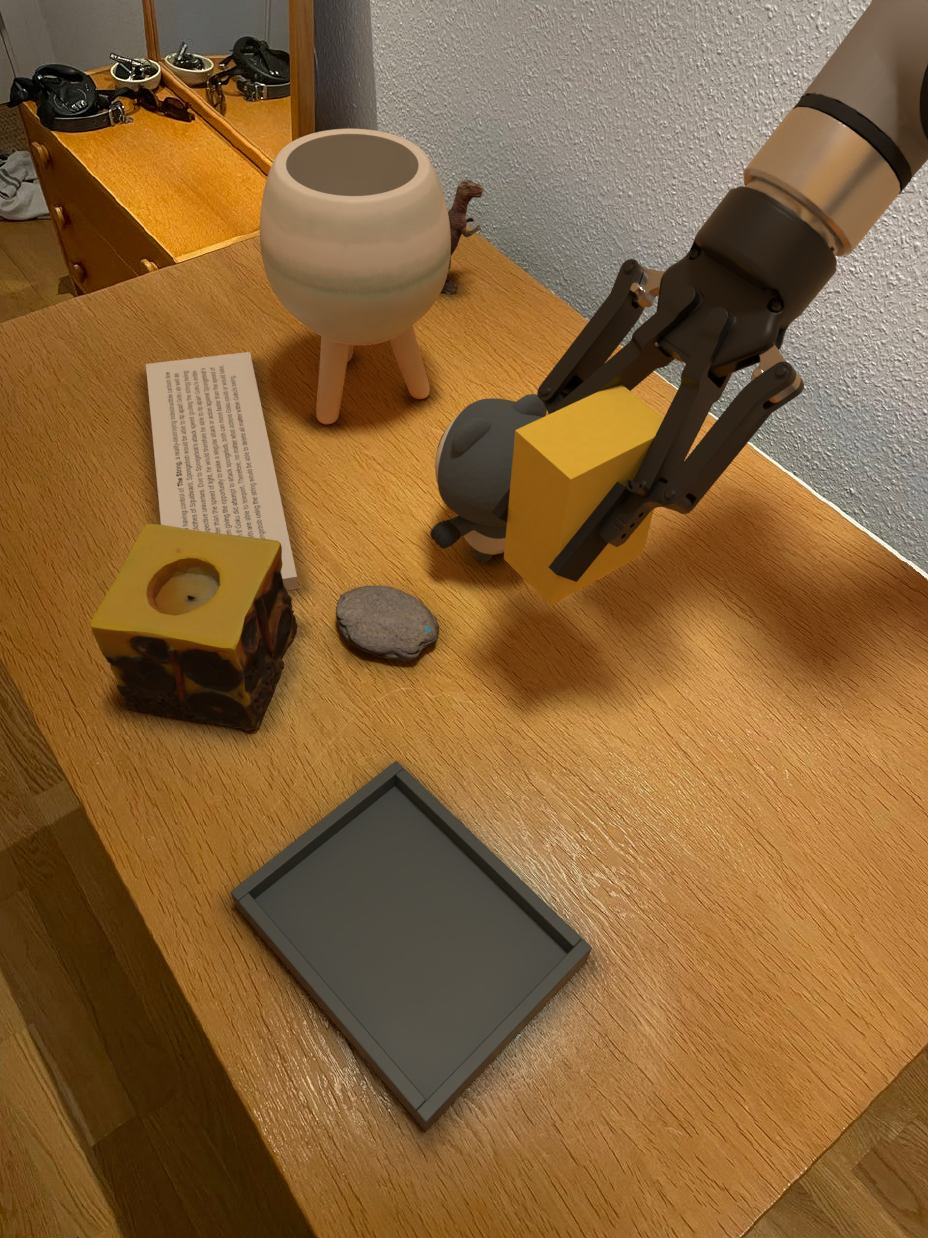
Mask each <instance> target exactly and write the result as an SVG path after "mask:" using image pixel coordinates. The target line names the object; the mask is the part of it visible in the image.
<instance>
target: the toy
mask: <svg viewBox="0 0 928 1238" xmlns="http://www.w3.org/2000/svg"><path fill="white" fill-rule="evenodd" d="M547 414H548V411H547V409H546V407H545V405H544V403H543V401H542V400H540V399H539V398H538V395H537V393H529V394H526V395H524V396H522V397H521V398H519V399H517V400H515V401H514V400H510V399H505V398H494V397H491V398H481V399H479V400H476V401H474V402H471V403H469V404H468V405H466V406H465V407H464V408H463V409H462V411H460V412H459V413H458V414H457V416H456V417H454V418H453V419H452V421H451V422H450V423H449V424H448V426H447V427H446V428H445V430H444V432H443V434H442V435H441V436H440V439H439V442H438V444H437V447H436V448H437V449H436V454H435V461H434V474H435V480H436V483H437V489H438V493H439V496H440V498H441V500H442V502H443V503H444V505H445V506H446V507H447V508H448V509H449V510H450V511H451V512H453V513H454V514H456V515H457V516H454V517H451V518H447V519H444V520H441V521H438V522H437V523H436V524H435V525H434V526H433V527H432V528H431V530H430V532H429V533H430V538H431V539H432V541H434V543H435V545H437V546H438V547H439V548H440V549H442V550H445V549H448V548H450V547H452V546H453V545H455V544H456V543H458V541H459V540H461V539H462V538H463V537H464V539H465V541H466V543H467V544H468V545H469V547H470V550H471V553H472V554H473V555H474V558H475V559H476V560H477V561H478V562H481V563H488V562H489V561H490V560H491V558H492V557H493V556H494V555H501V554H504V550H505V539H506V528H507V522H505V521H503V520H500V519H498V518H497V517H496V516H495V515H494V514H493V513H492V511H493V509H494V508H495V507H496V505H497V504H498V503H499V502H500V500H501V499H502V498H503V496H504V495H505V494H506V492H507V491H508V490H509V488H510V484H511V473H512V462H513V451H514V439H515V430H517V429H519V428H521V427H523V426H525V425H528V424H530V423H532V422H534V421H536V420H538V419H540V418H543V417H545V416H547Z"/></svg>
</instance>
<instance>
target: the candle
mask: <svg viewBox="0 0 928 1238" xmlns="http://www.w3.org/2000/svg"><path fill="white" fill-rule="evenodd" d="M281 569H282V546H281V543H280V542H279V541H276V540H269V539H260V538H252V537H244V536H237V535H227V534H219V533H211V532H204V531H197V530H190V529H184V528H178V527H172V526H166V525H161V523H160V524H158V523H148V522H147V523H145V525H144V526H143V528H142V529H141V531H140V532H139V534H138V536H137V538H136V540H135V542H134V544H133V546H132V548H131V549H130V551H129V554H128V556H127V558H126V559H125V561H124V562H123V565H122V567H121V569H119V572H118V574H117V576H116V577H115V579H114V581H113V583H112V584H111V585H110V587H109V589H108V590H107V591H106V594H105V595H104V598H102V601H101V602H100V605H99V606H98V608H97V610H96V611H95V613H94V615H93V616H92V618H91V620H90V628H91V632H92V635H93V637H94V639H95V641H96V643H97V646H98V648H99V650H100V652H101V653H102V656H103V657H104V658H105V660H106V662H107V663H109V665H110V671H112V673H113V674H114V677H115V678H116V682H117V684H116V688H117V691H118V693H119V694H120V696H121V697H122V699H123V701H124V706H125V707H127V708H128V709H130V710H134V711H138V712H143V713H150V714H152V715H155V716H168V717H169V718H176V719H180V720H182V719H185V720H187V721H190V722H199V723H201V724H214V725H215V724H216V725H220V726H224V727H230V728H236V729H242V730H244V731H245V732H249V731H252V730H256V729H258V728H259V727H260V726H261V722H262V720H263V718H264V715H265V712H266V709H267V708H268V705H269V702H270V701H271V700H272V696H273V694H274V693H275V689H276V685H277V682H278V681H279V680H280V677H281V674H282V672H283V670H282V668H283V667H284V666H285V661H283V659H282V658H283V655H284V653H285V652H286V650H287V649H288V646H289V645H290V643H291V642H292V641H293V640H294V638H295V636H296V634H297V630H298V623H297V619H296V615H294V614H295V610H293V604H292V603H293V602H292V601H293V598H292V597H291V595H289V593H288V591H287V590H286V588H285V585H284V583H283V579H282V574H281Z"/></svg>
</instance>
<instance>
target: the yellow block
mask: <svg viewBox="0 0 928 1238" xmlns="http://www.w3.org/2000/svg"><path fill="white" fill-rule="evenodd" d="M664 417H665V416H663V415H662V414H660V413H659V412H658V411H657V410H655V409H654V408H653V407H652V406H650V405H649V404H647V403H646V402H645V401H644V400H642V399H641V398H639V397H638V396H637V395H636V394H635V393H633V392H632V390H631V391H629V390H628V389H627V388H625V387H624V386H623V385H620V386H616V387H613V388H609V389H606V390H603V391H599V392H597V393H594V394H592V395H590V396H588V397H586V398H584V399H581V400H579V401H577V402H575V403H573V404H571V405H568V406H566V407H564V408H562V409H560V410H558V411H556V412H553V413H551V414H549V415H548V414H546V416H545V417H543V418H540V419H538V420H536V421H534V422H532V423H530V424H528V425H525V426H523V427H521V428H519V429H517V430H515V439H514V451H513V462H512V473H511V484H510V495H509V508H508V519H507V528H506V539H505V550H504V553H503V560H504V561H505V562H506V563H507V564H508V565H509V566H510V567H511V568H512V569H513V570H514V571H515V572H516V573H517V574H518V575H519V576H520V577H521V578H522V579H523V580H524V581H525V582H526V583H527V584H528V585H529V586H530V587H531V588H532V589H533V590H534V591H535V592H536V593H537V595H539V596H540V597H541V599H543V600H544V601H545V602H546V603H547V604H548V605H549V606H550V607H552V606H554V605H555V604H557V603H559V602H560V601H563V600H564V599H566V598H568V597H570V596H571V595H573V594H576V593H577V592H579V591H581V590H582V589H584V588H586V587H587V586H589V585H591V584H593V583H594V582H596V581H598V580H600V579H602V578H603V577H605V576H607V575H608V574H610V573H612V572H614V571H616V570H618V569H619V568H622V567H623V566H624V565H626V564H629V563H630V562H632V561H633V560H635V559H637V558H638V557H640V556H642V555H643V554H644V550H645V546H646V542H647V538H648V536H649V535H648V534H649V531H650V526H651V524H652V519H653V515H654V512H655V509H653V510H652V511H651V512H650V513H649V514H648V515H647V516H646V518H645V519H644V520H643V521H642V523H641V524H640V525H639V526H638V527H637V529H635V531H634V532H633V534H632V535H630V537H629V538H628V540H627V541H626V542H625V543H624V544H622V545H620V546H619V547H615V546H613V545H611V544H609V543H608V544H607V546H606V547H605V548H604V549H603V551H602V552H601V553H600V554H599V555H598V557H597V558H596V559H595V560H594V562H593V563H592V564H591V565H590V566H589V568H588V569H587V570H586V571H585V573H584V574H583V575H582V576H581V577H580V579H579V580H578V581H577V582H575V581H572V580H569V579H567V578H564V577H561V576H558V575H556V574H555V573H554V572H553V571H552V570H551V569H550V568H549V566H550V564H551V563H552V562H553V561H554V559H555V558H556V557H557V556H558V554H559V553H560V552H561V551H562V550H563V549H564V547H565V546H566V545H567V544H568V542H569V541H570V540H571V539H572V537H573V536H574V535H575V534H576V532H577V531H578V530H579V529H580V527H581V526H582V525H583V524H584V522H585V521H586V520H587V519H588V517H589V516H590V515H591V514H592V512H593V511H594V510H595V509H596V507H597V506H598V505H599V504H600V502H601V501H602V500H603V499H604V497H605V496H606V495H607V494H608V492H609V491H610V490H611V489H612V487H613V486H614V485H615V484H616V482H619V483H621V484H622V485H624V486H626V480H627V479H629V480H631V481H633V479H634V477H635V475H636V473H637V471H638V469H639V467H640V465H641V463H642V461H643V459H644V457H645V455H646V453H647V451H648V449H649V447H650V445H651V443H652V441H653V439H654V437H655V435H656V433H657V431H658V429H659V427H660V425H661V423H662V421H663V419H664Z"/></svg>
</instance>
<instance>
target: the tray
mask: <svg viewBox="0 0 928 1238" xmlns="http://www.w3.org/2000/svg"><path fill="white" fill-rule="evenodd" d="M230 895H231V898H232V901H233V903H234V906H235V908H236V909H237V910H238V912H239V913H240V914H241V915H242V916H243V917H244V918H245V920H246V921H247V922H248V923H249V924H250V926H251V927H252V928H253V929H254V931H256V933H257V934H258V936H260V938H261V939H262V940H263V942H265V943H266V945H267V946H268V947H269V949H271V950H272V952H273V953H274V954H275V955H276V956H277V958H278V959H279V960H280V962H282V964H283V965H284V966H285V967H286V968H287V970H288V971H289V972H290V973H291V974H292V976H293V977H294V978H295V980H297V981H298V983H299V984H300V985H301V986H302V987H303V988H304V990H305V991H306V992H307V993H308V994H309V995H310V997H311V998H312V999H313V1000H314V1002H315V1003H316V1004H317V1005H318V1006H319V1008H320V1009H321V1010H322V1011H323V1013H325V1014H326V1016H327V1017H328V1018H329V1019H330V1020H331V1022H332V1023H333V1024H334V1025H335V1026H336V1027H337V1029H338V1030H339V1031H340V1032H341V1033H342V1035H343V1036H344V1037H345V1038H346V1040H347V1041H348V1042H349V1043H350V1044H351V1045H352V1047H353V1048H354V1049H355V1050H356V1051H357V1053H358V1054H359V1055H360V1056H361V1057H362V1058H363V1060H364V1061H365V1062H366V1063H367V1064H368V1065H369V1067H370V1068H371V1070H373V1071H374V1072H375V1074H376V1075H377V1076H378V1078H379V1079H380V1080H381V1081H382V1082H383V1084H384V1085H386V1087H387V1088H388V1089H389V1090H390V1091H391V1093H392V1094H393V1096H395V1097H396V1099H397V1100H398V1101H399V1102H400V1103H401V1105H402V1106H403V1107H404V1108H405V1109H406V1110H407V1112H408V1113H409V1114H410V1115H411V1116H412V1118H413V1119H414V1120H415V1121H416V1123H418V1125H419V1126H420V1127H421V1128H422V1129H423V1131H424V1132H427V1131H428V1130H429V1129H430V1127H432V1125H434V1124H435V1123H436V1121H437V1120H438V1119H439V1118H440V1117H442V1115H443V1114H444V1113H445V1112H446V1111H447V1110H448V1108H450V1106H451V1105H452V1104H453V1103H454V1102H455V1101H456V1100H457V1099H458V1098H459V1097H460V1096H461V1095H462V1094H463V1093H464V1092H465V1091H466V1090H467V1088H469V1086H470V1085H471V1084H472V1083H473V1082H475V1080H476V1079H477V1078H478V1077H479V1076H480V1075H481V1074H482V1073H483V1071H485V1069H486V1068H487V1067H488V1066H489V1065H490V1064H491V1063H492V1062H493V1061H495V1059H496V1058H497V1057H498V1056H499V1055H500V1053H501V1052H503V1050H504V1049H506V1047H507V1046H508V1045H509V1044H510V1043H511V1042H512V1041H513V1040H514V1039H515V1038H516V1037H517V1036H518V1034H519V1033H520V1032H521V1031H523V1029H524V1028H525V1027H526V1026H527V1025H528V1024H529V1023H530V1022H531V1021H532V1020H533V1019H534V1017H536V1015H538V1013H540V1011H541V1010H542V1009H543V1008H544V1007H545V1006H546V1005H547V1004H548V1003H549V1002H550V1001H551V1000H552V999H553V998H554V996H556V994H557V993H558V992H559V991H561V989H562V988H563V987H564V986H565V985H566V984H567V983H568V982H569V981H570V980H571V978H572V977H573V976H574V975H576V973H577V972H578V971H579V970H580V969H581V968H582V967H583V966H584V965H585V964H586V963H587V961H588V960H589V957H590V954H591V951H592V949H593V947H592V945H590V943H588V942H587V941H586V939H584V938H583V937H582V936H581V935H580V934H579V933H578V932H576V931H575V930H574V929H573V928H572V927H571V926H570V925H569V924H568V923H567V922H566V921H565V920H564V919H563V918H562V917H561V916H560V915H559V914H557V912H556V911H554V909H553V908H551V907H550V906H549V904H547V903H546V902H545V901H544V900H543V899H542V898H541V897H540V896H539V895H538V894H537V893H535V891H533V889H532V888H530V887H529V886H528V885H527V884H526V883H525V882H524V881H523V880H522V879H521V878H520V877H519V876H518V875H517V874H516V873H515V872H514V871H513V870H511V869H510V867H509V866H508V865H507V864H505V863H504V862H503V860H501V858H499V857H498V856H497V855H496V854H495V853H494V852H493V851H492V850H491V849H489V847H488V846H487V845H486V844H484V842H482V840H480V838H478V837H477V836H476V835H475V834H474V833H473V832H472V831H471V830H470V829H469V828H467V827H466V825H465V824H463V823H462V822H461V820H459V819H458V818H457V817H456V816H455V815H454V814H453V813H452V812H451V811H450V810H448V808H447V807H446V806H444V805H443V804H442V803H441V801H439V799H438V798H436V797H435V796H434V795H433V794H432V793H431V791H429V790H428V789H426V787H425V786H424V785H423V784H422V783H420V782H419V780H417V779H416V778H415V777H414V776H413V775H412V774H411V773H410V771H408V770H407V769H406V768H405V767H404V766H403V765H402V764H401V763H400V762H399V761H398V760H395V761H394V762H392V763H391V764H390V765H388V766H387V767H386V768H385V769H383V770H382V771H381V772H380V773H378V774H377V775H376V776H374V777H373V778H372V779H371V780H370V781H368V782H367V783H365V785H362V787H360V788H359V789H358V790H357V791H355V792H354V793H353V794H351V796H349V797H348V798H347V799H345V801H343V802H342V803H341V804H339V805H338V806H337V807H335V808H334V809H333V810H332V811H330V812H329V813H328V814H327V815H325V816H324V817H323V818H322V819H320V820H319V821H318V822H316V823H315V824H313V826H311V827H310V828H309V829H308V830H306V831H305V832H304V833H303V834H301V835H300V836H299V837H298V838H296V839H295V840H293V842H291V843H290V844H289V845H287V846H286V847H285V848H284V849H282V850H281V851H280V852H278V853H277V854H276V855H275V856H273V858H271V859H269V861H267V862H266V863H264V864H263V865H262V866H261V867H259V868H258V869H257V870H256V871H254V872H253V873H252V874H251V875H249V876H248V877H247V878H246V879H244V880H243V881H242V882H241V883H239V884H238V885H237V886H235V888H233V889H232V890H231V891H230Z"/></svg>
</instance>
